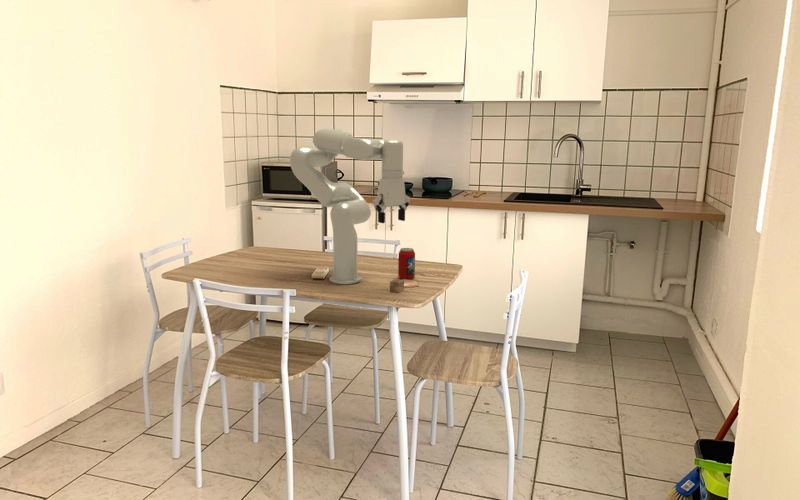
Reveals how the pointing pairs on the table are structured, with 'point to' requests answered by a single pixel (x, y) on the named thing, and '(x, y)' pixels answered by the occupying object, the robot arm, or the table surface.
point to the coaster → (410, 283)
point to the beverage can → (406, 263)
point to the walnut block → (396, 285)
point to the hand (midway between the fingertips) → (391, 221)
